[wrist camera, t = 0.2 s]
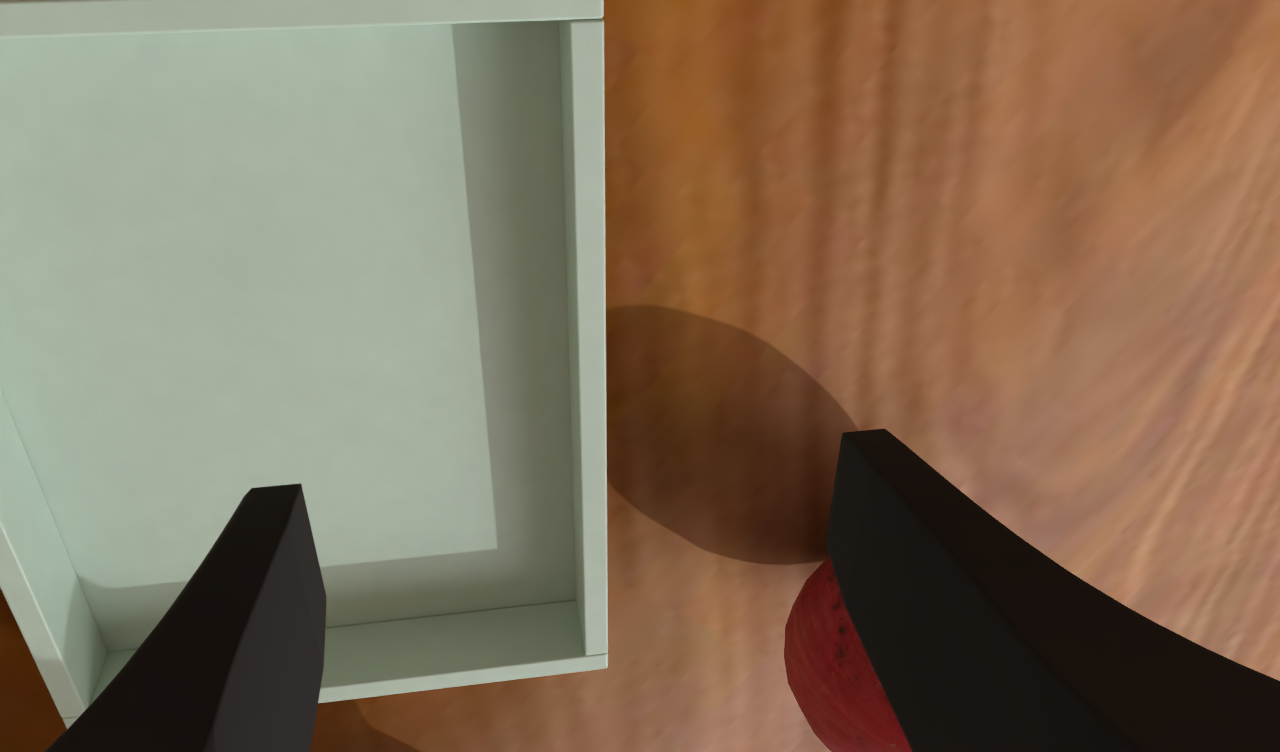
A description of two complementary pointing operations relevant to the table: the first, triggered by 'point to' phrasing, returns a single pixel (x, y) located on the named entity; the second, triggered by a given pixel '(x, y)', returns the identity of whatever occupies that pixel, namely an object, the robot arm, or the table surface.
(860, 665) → the onion
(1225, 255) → the table surface
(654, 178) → the table surface
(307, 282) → the tray
